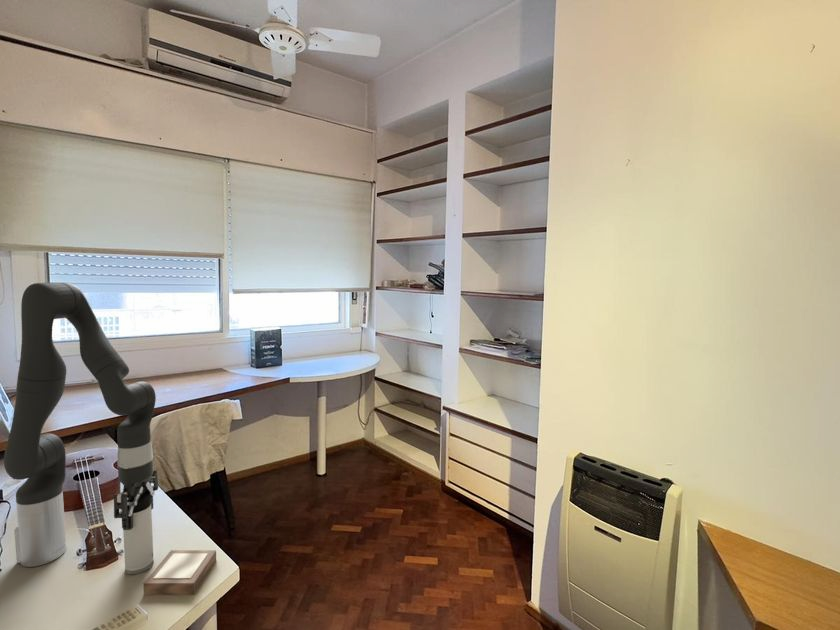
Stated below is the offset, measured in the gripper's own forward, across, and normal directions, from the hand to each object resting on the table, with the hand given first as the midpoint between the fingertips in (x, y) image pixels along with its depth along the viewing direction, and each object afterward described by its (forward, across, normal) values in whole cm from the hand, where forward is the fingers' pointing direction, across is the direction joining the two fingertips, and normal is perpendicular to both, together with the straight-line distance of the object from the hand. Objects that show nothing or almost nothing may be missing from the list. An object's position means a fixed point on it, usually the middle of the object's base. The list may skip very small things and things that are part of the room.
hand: (138, 519), depth 109 cm
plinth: (+13, +4, +13) cm, 19 cm away
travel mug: (+13, 0, 0) cm, 13 cm away
